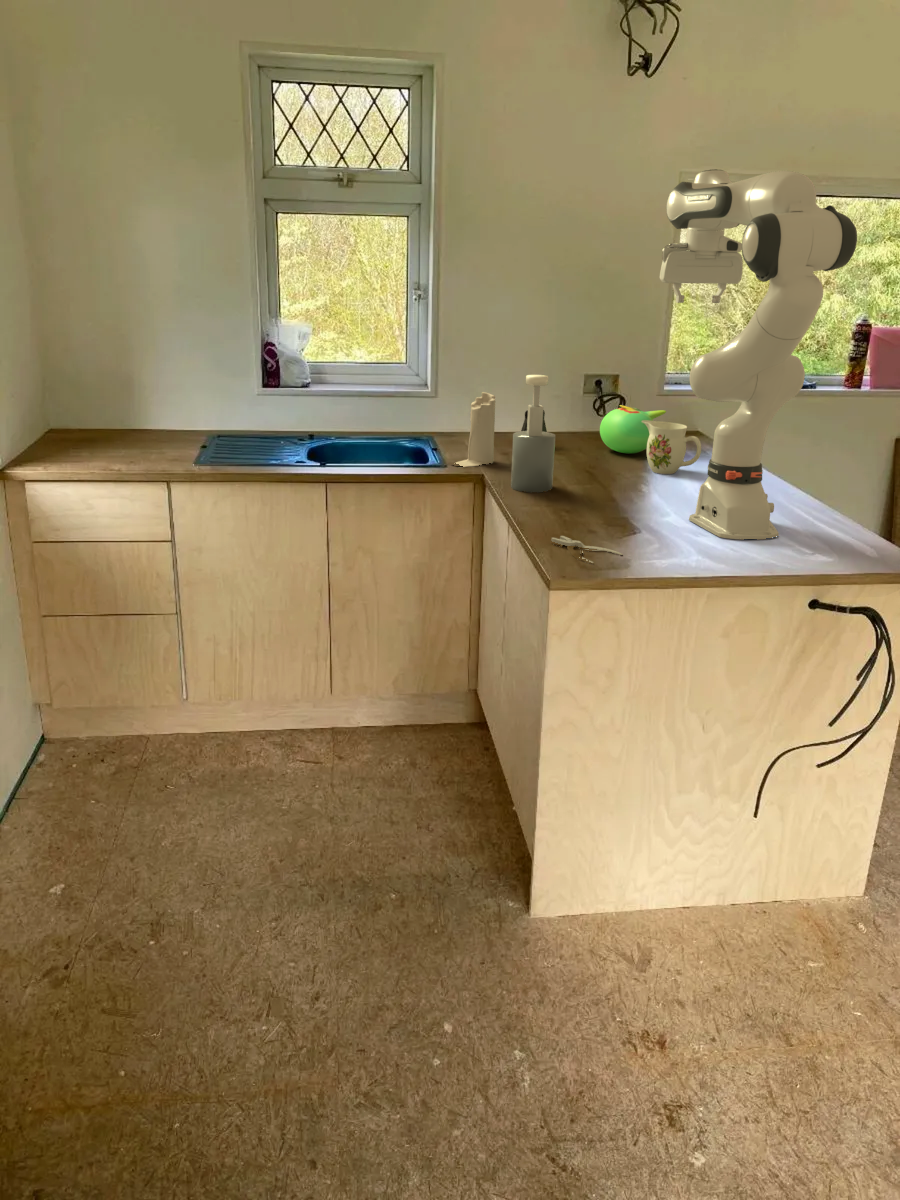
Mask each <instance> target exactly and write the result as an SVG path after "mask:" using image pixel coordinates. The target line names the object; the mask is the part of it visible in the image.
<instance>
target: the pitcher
mask: <svg viewBox="0 0 900 1200" xmlns="http://www.w3.org/2000/svg"><path fill="white" fill-rule="evenodd" d="M642 422H643V423H644V424H645V425H646V426H647V428H648V430H649V434H650V435H649V438H648V442H647V448H646V457H647V458H646V459H647V463H648V466H649V467H650V469H651V471H652V472H653V473H655V474H659V475H674V474H676V472H677V471H678V470H679V469H680V468H681V467H687V466H691V465H693V464H694V463H696V462H697V461H699V458H700V457H701V453H702V443H701V441H700V440H701V439H699V438H698V436H694V435H689V436H686V432H687V430H688V426H687V425H686V424H682V423H677V422H669V421H658V420H653V421H650V420H642ZM690 441H692V442H694V444H695V445H696V453H695V455H694V457H693V458H691V459H689V460H687V461H685V460H684V459H685V455H686V451H687V442H690Z"/></svg>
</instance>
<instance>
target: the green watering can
mask: <svg viewBox="0 0 900 1200" xmlns="http://www.w3.org/2000/svg"><path fill="white" fill-rule="evenodd" d="M666 413H667V411H666V410H663V409H662V410H661V409H660V410H658V409H657V410H650V411H643V410H641V409H639V408H636V407H631V406H626V405H622V404H620V405H619V407H618V408H615V409H613V410H610V411H609V412H608V413H607V414H606V415H604V417H603V418H602V420H601V422H600V425H599V435H600V438H601V440H602V442H603V444H605V445H606V447H608V448H609V449H611V450H612V451H615V452H616V453H617V452H618V453H622V454H627V455H628V454H630V455H631V454H638V453H640V452H643V451H645V450H647V442H648V438H649V435H650V434H649V430H648V428H647V426H646V425H645V424H644V423H643V422H642V420H650V421H654V419H656V418H659V417H660V416H662V415H664V414H666Z"/></svg>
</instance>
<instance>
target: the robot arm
mask: <svg viewBox="0 0 900 1200" xmlns="http://www.w3.org/2000/svg"><path fill="white" fill-rule="evenodd" d="M694 177H695V178H694V180H693V182H688V181H681V182H679V183H678V184H677V185H676V186H675V187H673V189H672V190H671V191H670V193H669V195H668V197H667V200H666V204H665V205H666V206H665V212H666V216H667V220H668V221H669V222H670V223H671V225H672V226H673V227H674V228H675V229H676V230H682V229H683V230H686V238H685V242H680V243H675V242H670V243H668V244H666V245H665V246H664V247H663V249H662V254H661V259H662V262H661V265H660V266H661V267H660V271H659V280H660V281H661V283H663V284H672V290H673V291H674V294H675V295H676V296H675V303H677V304H678V303H679V304H683V303H684V302H685V295H683V294H682V293H681V291H680V289H681V288H682V284H706V285H707V284H710V285H711V284H713V285H715V284H717V289H718V290H717V292H716V293H715V295H713V294H712V296H711V303H712V304H720V302H721V298H722V297H721V296H722V295H723V294H724V292H725V291H726V289H727V285H737V284H739V283H740V282H741V281H742V278H743V265H744V263H743V261H744V262H745V264H746V265H747V267H748V268H749V270H750V271H751V272H753V273H754V274H755V277H756V279H757V280H758V281H761V282H762V283H765V282H768V281H769V283H768V284H769V285H768V289H767V292H766V293H765V295H764V297H763V298H762V299H761V302H760V303H759V304H758V306H757V309H755V312H754V313H753V315H752V317H751V318H750V320H749V321H748V322H747V325H746V326H744V327H745V328H744V329H742V331H741V332H740V333H738V334H737V335H736V336H735V337H733V338H732V339H731V340H729V341H728V342H726V343H725V344H724V345H721V346H720V347H718V348H716V349H714V350H711V351H710V352H707V353H705V354H701V355H700V356H699V357H698V358H697V359H696V360H695V361H694V362H693V364H692V365H691V368H690V372H689V385H690V389H691V390H692V393H693V394H694V395H695V396H696V398H698V399H702V400H706V401H711V402H716V403H717V402H718V403H740V405H739V407H738V409H737V410H736V412H735V413H733V414H732V415H731V416H729V417H726V418H725V419H723V420H721V421H720V422H719V424H717V426H716V427H715V429H714V432H713V433H714V434H713V443H712V451H711V456H710V457H711V458H710V459H709V461H708V464H707V478H706V480H705V481H704V482H703V483H702V484H701V485H700V487H699V491H698V496H697V500H696V507H695V513H692V514H690V515H689V517H688V520H689V521H690V522H691V523H693V524H695V525H697V526H698V527H701V529H704V530H706V531H707V532H709V533H711V534H713V535H715V536H716V537H719V538H722V539H723V538H724V539H729V540H730V539H731V540H744V539H757V540H767V539H766V538H772V537H776V536H779V535H780V534H779V531H778V529H777V528H776V527H775V525H774V524H773V523H772V522H771V520H770V518H771V514H773V513H774V511H775V503H774V502H769V501H768V493H766V492H765V490H764V488H763V484H762V481H763V473H764V471H763V464H762V454H763V451H764V450H763V449H764V444H765V440H766V435H767V432H768V428H769V426H770V424H771V422H772V421H773V419H774V417H775V416H776V414H777V413H778V412H779V411H780V409H781V408H782V407H783V406H784V405H785V404H786V403H788V402H789V401H790V400H792V399H793V398H794V397H796V396H797V395H798V394H799V393H800V392H801V390H802V388H803V386H804V382H805V377H806V374H805V373H806V372H805V367H804V364H803V362H802V361H801V359H800V358H799V357H798V356H796V355H793V352H794V351H795V350H796V349H797V346H798V345H800V342H801V341H802V339H803V338H804V337H805V335H806V334H807V332H808V330H809V328H810V327H811V325H812V323H813V321H814V320H815V317H816V315H817V313H818V311H819V309H820V306H821V303H822V300H823V299H824V298H823V297H824V287H823V284H822V282H821V280H820V279H819V278H818V277H817V275H815V274H814V272H817V271H818V272H819V271H824V272H830V271H833V270H838V269H840V268H843V267H845V266H846V265H847V264H848V263H849V262H850V260H851V259H852V257H853V255H854V254H855V251H856V250H857V249H856V248H857V245H858V244H857V243H858V231H857V228H856V225H855V224H854V222H853V221H852V220H851V219H850V217H848V216H847V215H845V214H843V213H841V212H839V211H838V210H837V209H836V208H835V207H834V206H833V205H831V204H829V205H828V206H826V207H825V208H824V207H823V208H821V207H820V206H818V205H817V190H816V187H815V184H814V182H813V181H812V179H811V178H810V177H808V176H807V175H805V174H803V173H800V172H797V171H794V170H793V171H791V170H776V171H771V172H766V173H763V174H762V173H761V174H759V175H754V176H752V177H749V178H745V179H742V180H738V181H734V182H733V181H731V180H730V175H729V173H728V172H727V171H725V170H723V169H708V170H702V171H700V172H698V173H696V175H695V176H694ZM739 225H744V226H746V227H745V228H744V232H743V234H742V238H741V239H742V240H741V242H740V241H737V240H735V239H732V238H730V237H728V236H725V230H727V229H728V230H729V229H733V228H737V227H738V226H739ZM740 252H741V253H740ZM776 538H777V537H776ZM772 539H773V538H772Z"/></svg>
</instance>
